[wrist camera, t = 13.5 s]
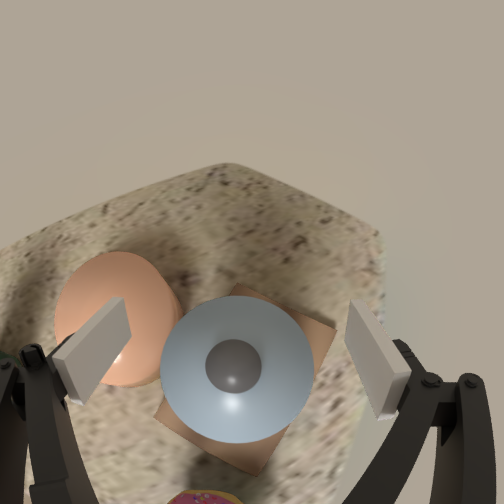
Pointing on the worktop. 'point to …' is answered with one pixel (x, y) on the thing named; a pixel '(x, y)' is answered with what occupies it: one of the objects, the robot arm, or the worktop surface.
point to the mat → (258, 452)
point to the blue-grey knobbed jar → (237, 369)
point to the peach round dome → (137, 307)
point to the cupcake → (204, 497)
